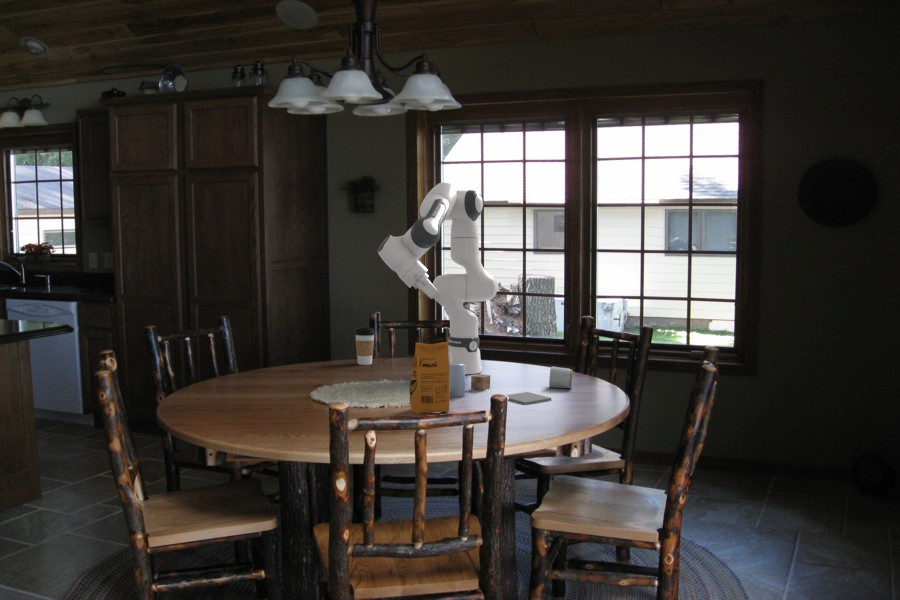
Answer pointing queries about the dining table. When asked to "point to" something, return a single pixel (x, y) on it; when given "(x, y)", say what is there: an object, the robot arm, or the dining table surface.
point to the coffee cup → (364, 345)
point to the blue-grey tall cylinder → (457, 380)
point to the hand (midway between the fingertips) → (443, 304)
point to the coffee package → (430, 379)
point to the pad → (527, 398)
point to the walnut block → (480, 382)
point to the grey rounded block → (560, 377)
